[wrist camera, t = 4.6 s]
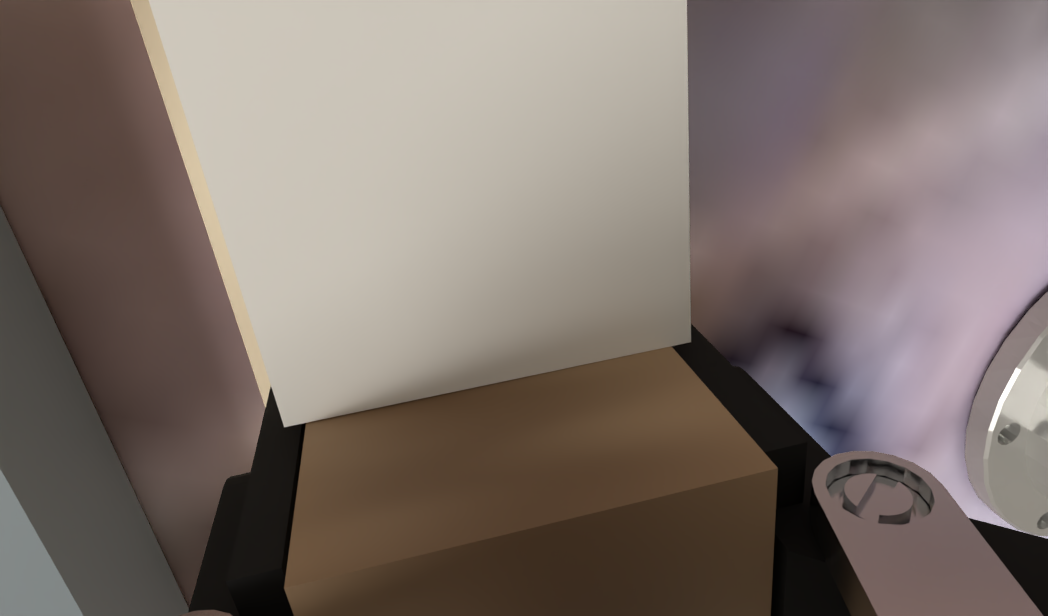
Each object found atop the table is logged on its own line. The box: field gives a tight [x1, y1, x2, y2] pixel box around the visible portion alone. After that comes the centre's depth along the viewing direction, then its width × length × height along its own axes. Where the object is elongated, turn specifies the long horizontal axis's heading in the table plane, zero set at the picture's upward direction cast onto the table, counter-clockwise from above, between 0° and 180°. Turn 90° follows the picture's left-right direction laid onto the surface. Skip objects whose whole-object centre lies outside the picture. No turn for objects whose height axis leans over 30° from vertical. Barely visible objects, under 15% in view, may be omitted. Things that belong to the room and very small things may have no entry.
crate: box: [149, 0, 691, 427], centre depth 10 cm, size 5×5×5 cm
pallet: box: [130, 0, 778, 616], centre depth 11 cm, size 8×20×10 cm, turn 6°
